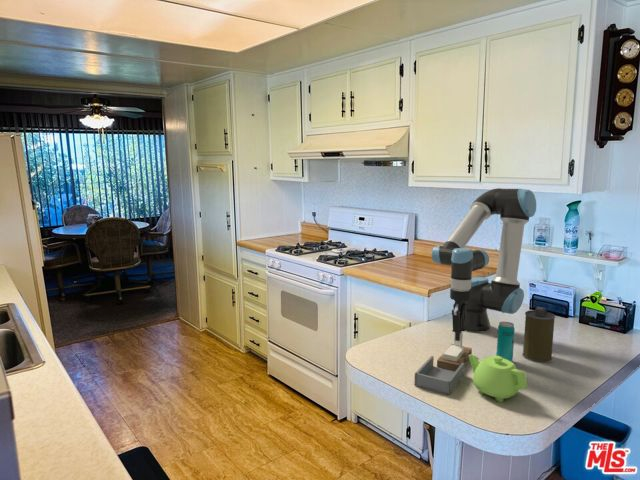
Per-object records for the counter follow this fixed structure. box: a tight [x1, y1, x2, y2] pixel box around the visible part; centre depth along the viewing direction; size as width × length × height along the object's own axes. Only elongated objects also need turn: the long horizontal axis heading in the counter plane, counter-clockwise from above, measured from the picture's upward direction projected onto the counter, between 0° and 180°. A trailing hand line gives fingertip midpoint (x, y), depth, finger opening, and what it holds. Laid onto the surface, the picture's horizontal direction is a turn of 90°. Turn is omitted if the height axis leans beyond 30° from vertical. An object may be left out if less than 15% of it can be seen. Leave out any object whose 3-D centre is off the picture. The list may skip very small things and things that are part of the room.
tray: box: [414, 355, 465, 396], centre depth 155 cm, size 17×12×4 cm
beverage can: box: [496, 321, 515, 362], centre depth 168 cm, size 6×6×15 cm
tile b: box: [442, 348, 461, 362], centre depth 166 cm, size 5×5×2 cm
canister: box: [521, 305, 556, 363], centre depth 172 cm, size 11×10×20 cm
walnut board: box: [436, 343, 473, 371], centre depth 170 cm, size 18×8×3 cm, turn 147°
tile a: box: [447, 344, 465, 357], centre depth 170 cm, size 5×5×2 cm
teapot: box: [468, 354, 529, 403], centre depth 145 cm, size 20×13×13 cm
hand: (457, 347), depth 173 cm, fingers closed
